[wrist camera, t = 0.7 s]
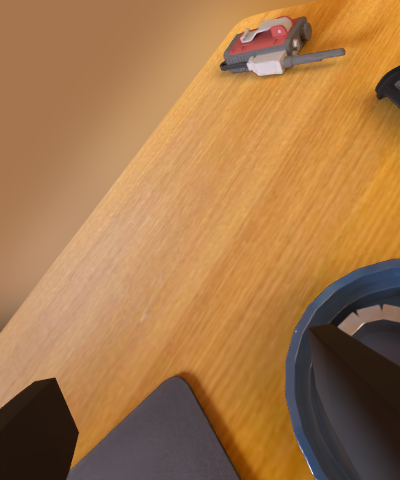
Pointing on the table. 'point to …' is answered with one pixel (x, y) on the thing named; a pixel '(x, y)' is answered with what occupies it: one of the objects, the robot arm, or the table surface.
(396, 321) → the steel ring
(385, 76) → the electric trimmer
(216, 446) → the mouse pad
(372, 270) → the bowl
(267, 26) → the walkie-talkie
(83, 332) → the table surface
